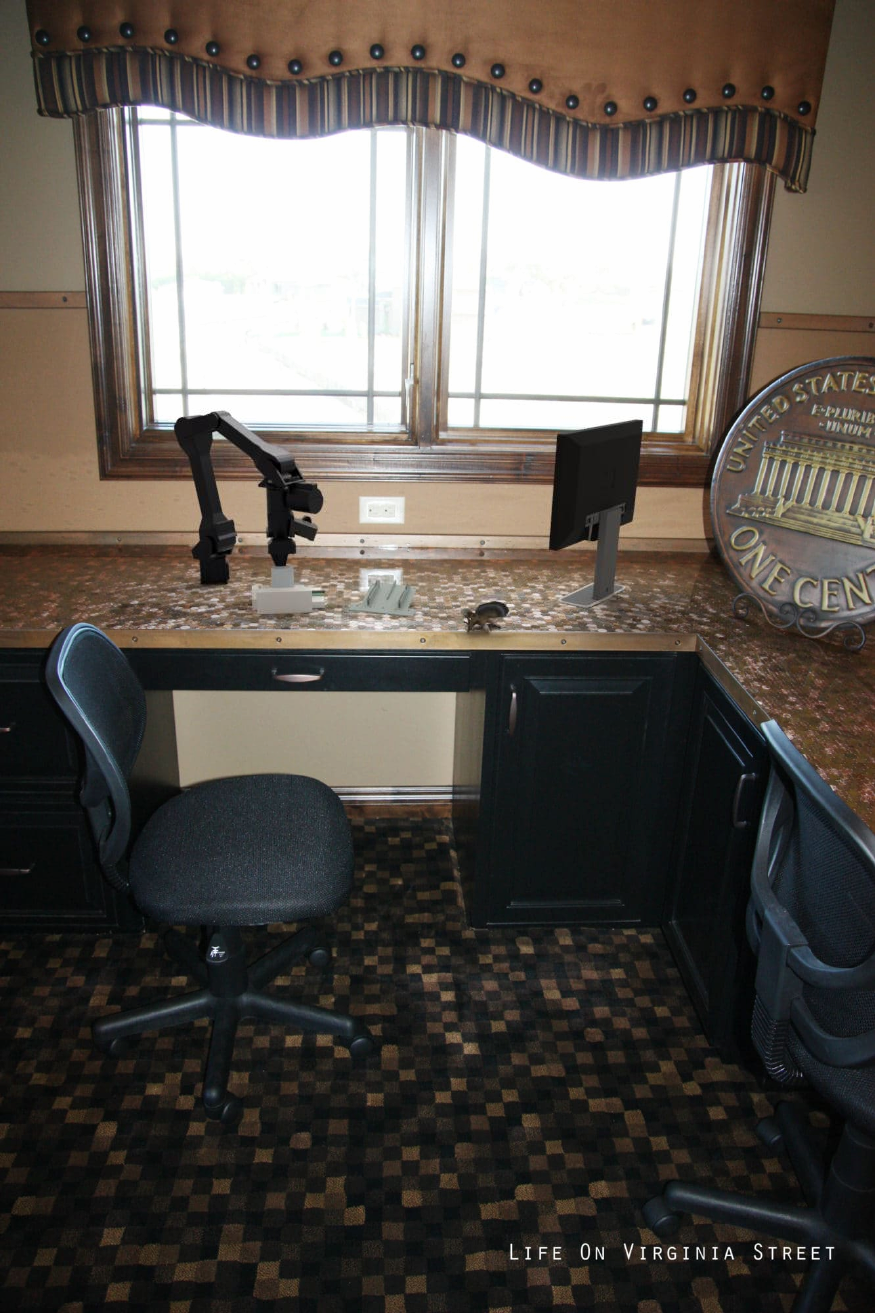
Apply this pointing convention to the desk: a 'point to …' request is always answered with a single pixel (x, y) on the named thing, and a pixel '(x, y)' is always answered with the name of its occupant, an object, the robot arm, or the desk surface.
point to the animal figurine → (484, 614)
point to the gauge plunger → (285, 578)
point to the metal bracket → (387, 599)
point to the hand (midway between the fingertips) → (281, 574)
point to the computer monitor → (595, 498)
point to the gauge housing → (286, 600)
